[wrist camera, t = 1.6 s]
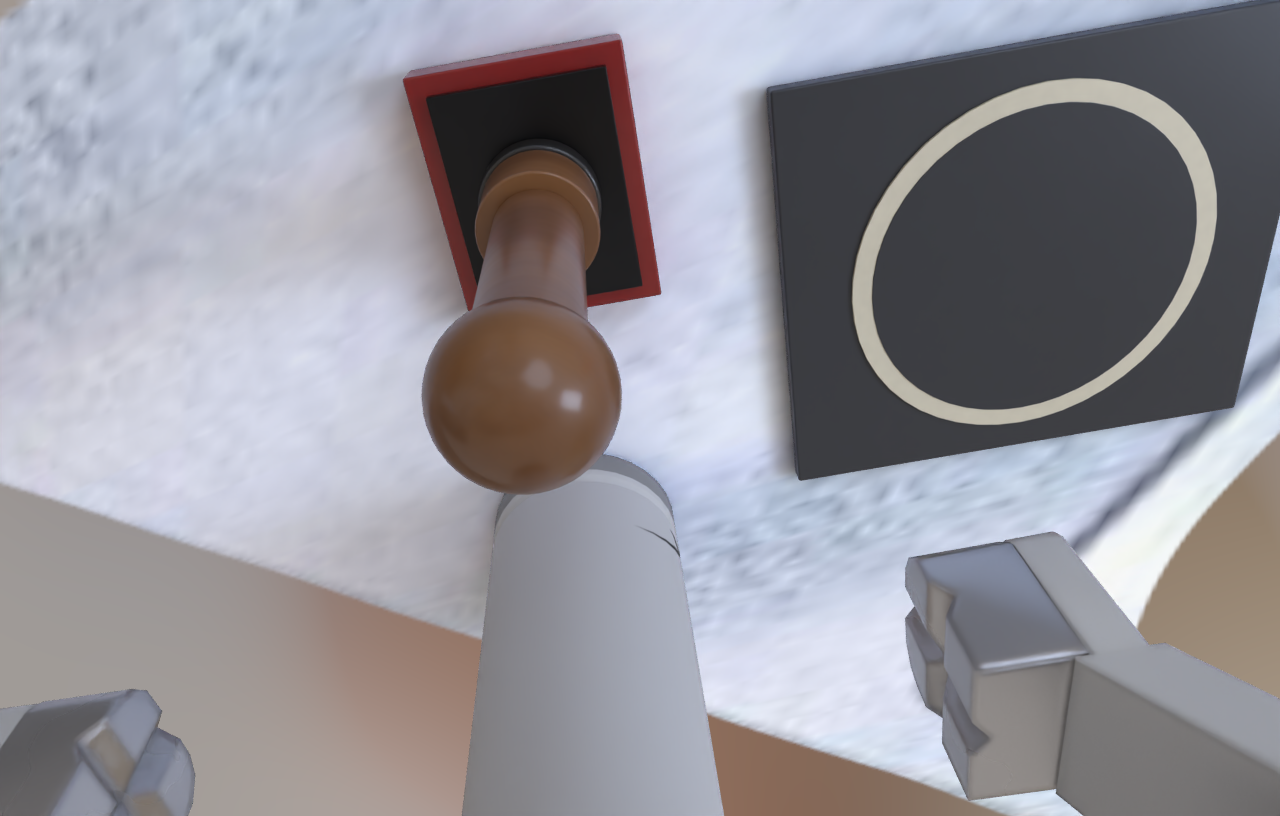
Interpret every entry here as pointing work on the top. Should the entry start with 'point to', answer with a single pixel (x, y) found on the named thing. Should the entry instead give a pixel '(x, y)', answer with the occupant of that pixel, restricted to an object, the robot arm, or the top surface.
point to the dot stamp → (527, 333)
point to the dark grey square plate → (1025, 236)
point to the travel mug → (589, 659)
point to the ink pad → (539, 109)
